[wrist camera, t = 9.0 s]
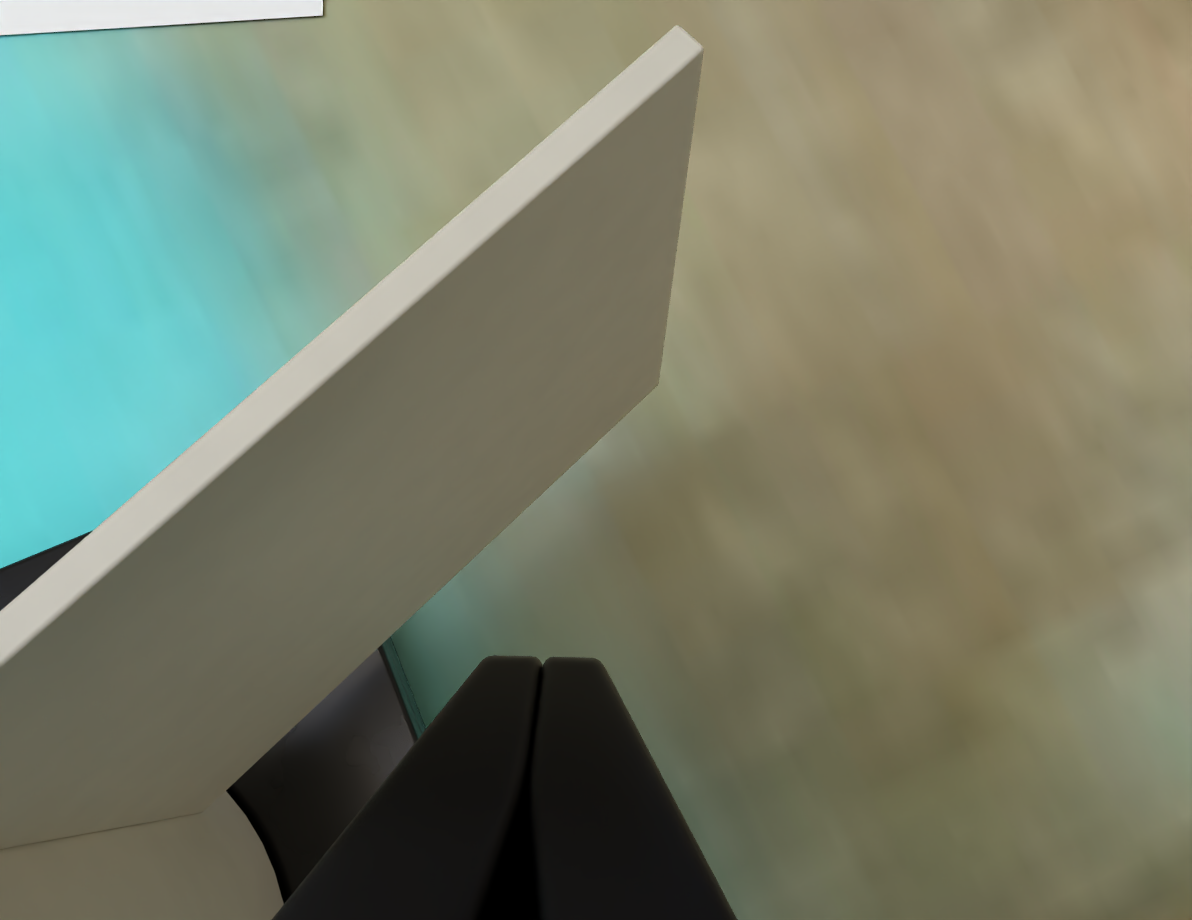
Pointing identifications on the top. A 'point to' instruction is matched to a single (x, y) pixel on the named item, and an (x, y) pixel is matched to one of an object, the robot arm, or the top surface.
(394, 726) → the holder
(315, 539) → the towel roll
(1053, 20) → the top surface
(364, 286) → the top surface
